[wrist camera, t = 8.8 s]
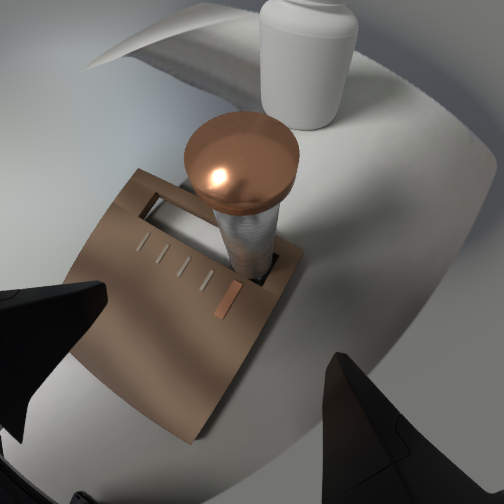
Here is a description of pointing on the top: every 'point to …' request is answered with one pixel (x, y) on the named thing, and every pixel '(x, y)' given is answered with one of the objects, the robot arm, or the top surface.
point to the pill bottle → (305, 59)
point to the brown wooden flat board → (169, 310)
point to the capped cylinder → (244, 182)
